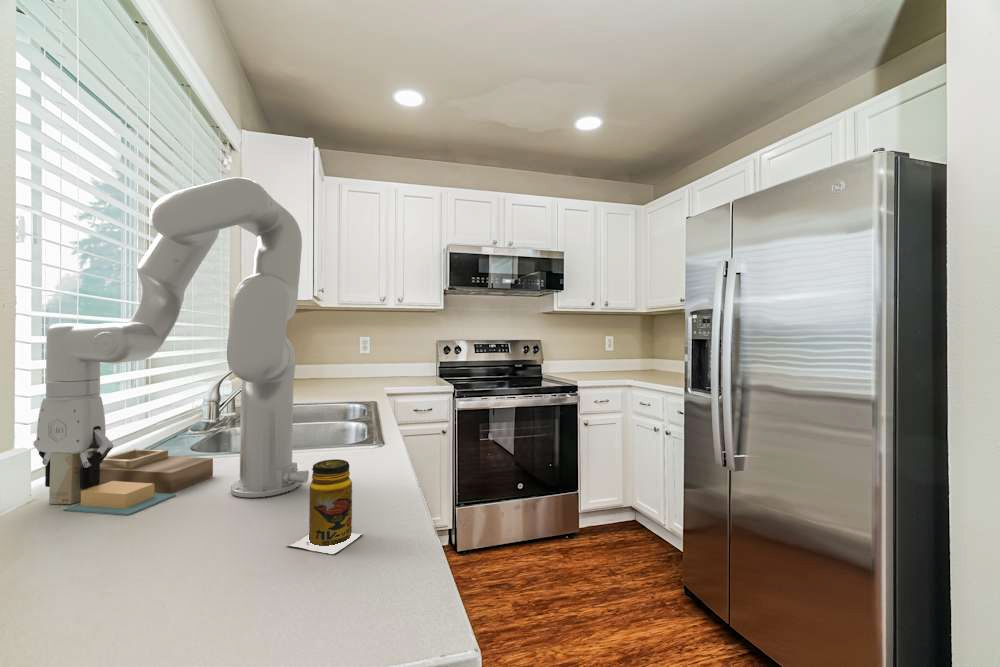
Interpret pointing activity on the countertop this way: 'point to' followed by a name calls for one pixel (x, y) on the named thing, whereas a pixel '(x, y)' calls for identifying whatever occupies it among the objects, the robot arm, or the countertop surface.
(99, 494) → the tan rectangular block
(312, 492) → the condiment
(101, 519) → the countertop surface
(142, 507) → the mat
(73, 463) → the box
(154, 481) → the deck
